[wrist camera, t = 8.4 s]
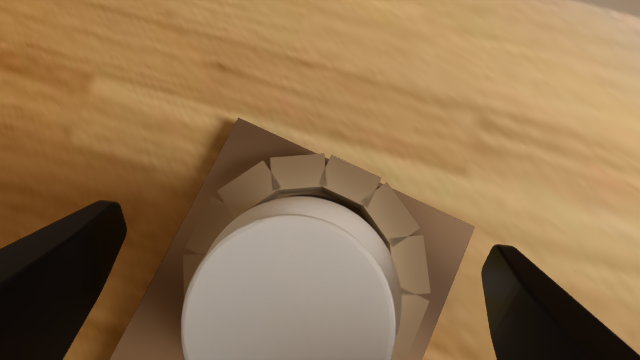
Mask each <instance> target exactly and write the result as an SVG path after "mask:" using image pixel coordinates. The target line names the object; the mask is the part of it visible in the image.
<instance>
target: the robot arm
mask: <svg viewBox="0 0 640 360" xmlns="http://www.w3.org/2000/svg"><path fill="white" fill-rule="evenodd" d="M126 233H127V227H126V223H125V219H124V216H123V213H122V209H121V206H120V204H119V203H118V202H115V201H106V200H100V201H97V202H95V203H93V204H91V205H89V206H87V207H85V208H83V209H81V210H78V211H76V212H74V213H72V214H70V215H68V216H66V217H64V218H62V219H60V220H58V221H56V222H54V223H52V224H50V225H48V226H46V227H44V228H42V229H40V230H38V231H36V232H34V233H32V234H30V235H28V236H25V237H23V238H21V239H19V240H17V241H15V242H13V243H11V244H9V245H7V246H5V247H3V248H1V249H0V360H63V358H64V356H65V355H66V353H67V351H68V349H69V348H70V346H71V344H72V342H73V341H74V339H75V337H76V335H77V334H78V332H79V330H80V328H81V327H82V325H83V323H84V321H85V320H86V318H87V316H88V314H89V313H90V311H91V309H92V307H93V306H94V304H95V302H96V300H97V299H98V297H99V295H100V293H101V291H102V289H103V287H104V285H105V283H106V280H107V278H108V276H109V274H110V271H111V269H112V267H113V264H114V262H115V260H116V257H117V255H118V253H119V251H120V248H121V246H122V244H123V241H124V239H125V237H126ZM481 275H482V283H483V290H484V296H485V303H486V309H487V316H488V322H489V328H490V334H491V338H492V343H493V347H494V350H495V354H496V358H497V360H640V355H639V354H638V353H636V352H635V351H634V350H633V349H632V348H631V347H629V346H628V345H627V344H626V343H625V342H624V341H623V340H621V339H620V338H619V337H618V336H617V335H616V334H614V333H613V332H612V331H611V330H610V329H609V328H608V327H606V326H605V325H604V324H603V323H602V322H601V321H599V320H598V319H597V318H596V317H595V316H594V315H592V314H591V313H590V312H589V311H588V310H587V309H586V308H584V307H583V306H582V305H581V304H580V303H579V302H577V301H576V300H575V299H574V298H573V297H572V296H571V295H569V294H568V293H567V292H566V291H565V290H564V289H562V288H561V287H560V286H559V285H558V284H557V283H556V282H554V281H553V280H552V279H551V278H550V277H549V276H547V275H546V274H545V273H544V272H543V271H542V270H540V269H539V268H538V267H537V266H536V265H535V264H534V263H532V262H531V261H530V260H529V259H528V258H527V257H525V256H524V255H523V254H522V253H521V252H520V251H519V250H517V249H516V248H515V247H513V246H509V245H500V244H497V245H494V246H493V247H492V249H491V251H490V253H489V255H488V257H487V259H486V261H485V263H484V265H483V268H482V273H481Z"/></svg>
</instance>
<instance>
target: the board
mask: <svg viewBox="0 0 640 360" xmlns="http://www.w3.org/2000/svg"><path fill="white" fill-rule="evenodd" d="M380 179H381V177H379V176H377V175H374V174H372V173H370V172H368V171H366V170H364V169H361V168H359V167H357V166H355V165H353V164H350V163H348V162H346V161H344V160H342V159H340V158H337V157H335V156H333V155H331V157H330V159H327V158H325V156H324V154H316V153H314V152H312V151H310V150H308V149H305V148H303V147H301V146H299V145H297V144H294V143H292V142H290V141H288V140H286V139H284V138H281V137H279V136H277V135H275V134H273V133H271V132H268V131H266V130H264V129H262V128H260V127H258V126H255V125H253V124H251V123H249V122H247V121H245V120H242V119H240V118H238V119H237V121H236V123H235V125H234V127H233V129H232V131H231V132H230V134H229V136H228V138H227V140H226V142H225V144H224V146H223V147H222V149H221V151H220V153H219V155H218V157H217V159H216V161H215V163H214V164H213V166H212V168H211V170H210V172H209V174H208V176H207V178H206V179H205V181H204V183H203V185H202V187H201V189H200V191H199V193H198V194H197V196H196V198H195V200H194V202H193V204H192V206H191V208H190V209H189V211H188V213H187V215H186V217H185V219H184V221H183V223H182V225H181V226H180V228H179V230H178V232H177V234H176V236H175V238H174V240H173V241H172V243H171V245H170V247H169V249H168V251H167V253H166V255H165V256H164V258H163V260H162V262H161V264H160V266H159V268H158V270H157V271H156V273H155V275H154V277H153V279H152V281H151V283H150V285H149V286H148V288H147V290H146V292H145V294H144V296H143V298H142V300H141V302H140V303H139V305H138V307H137V309H136V311H135V313H134V315H133V317H132V318H131V320H130V322H129V324H128V326H127V328H126V330H125V332H124V333H123V335H122V337H121V339H120V341H119V343H118V345H117V347H116V348H115V350H114V352H113V354H112V356H111V358H110V360H184V355H183V350H182V342H181V316H182V308H183V303H184V299H185V295H186V292H187V289H188V286H189V283H190V281H191V279H192V277H193V275H194V273H195V271H196V269H197V267H198V266H199V264H200V263H201V261H202V260H203V259H204V257H205V256H206V254H207V252H208V250H209V248H210V247H211V245H212V243H213V242H214V240H215V239H216V238H217V237H218V235H219V234H220V233H221V232H222V231H223V230H224V229H225V228H226V227H227V226H228V225H229V224H230V223H231V222H232V221H233V220H235V219H236V218H237V217H238V216H240V215H241V214H243V213H244V212H246V211H247V210H249V209H251V208H253V207H255V206H257V205H260V204H262V203H266V202H269V201H272V200H275V199H280V198H286V197H295V196H304V197H314V198H320V199H324V200H328V201H331V202H334V203H337V204H339V205H341V206H343V207H346V208H347V209H349V210H351V211H352V212H354V213H355V214H357V215H358V216H360V217H361V218H362V219H363V220H364V221H366V222H367V223H368V224H369V225H370V226H371V227H372V228H373V229H374V230H375V231H376V233H377V234H378V235H379V236H380V238H381V239H382V241H383V242H384V243H385V245H386V247H387V249H388V250H389V252H390V254H391V257H392V259H393V262H394V264H395V266H396V270H397V273H398V277H399V281H400V287H401V295H402V309H401V319H400V326H399V330H398V334H397V337H396V340H395V343H394V347H393V352H392V356H391V359H390V360H422V358H423V356H424V353H425V351H426V348H427V346H428V343H429V341H430V338H431V336H432V333H433V331H434V328H435V326H436V323H437V321H438V318H439V316H440V313H441V311H442V308H443V306H444V303H445V301H446V298H447V296H448V293H449V291H450V288H451V286H452V283H453V281H454V278H455V276H456V273H457V271H458V268H459V266H460V263H461V261H462V258H463V256H464V253H465V250H466V248H467V245H468V243H469V240H470V238H471V235H472V233H473V230H474V228H475V227H474V226H472V225H470V224H468V223H466V222H464V221H461V220H459V219H457V218H455V217H453V216H451V215H448V214H446V213H444V212H442V211H440V210H438V209H435V208H433V207H431V206H429V205H427V204H425V203H422V202H420V201H418V200H416V199H414V198H412V197H409V196H407V195H405V194H403V193H401V192H399V191H396V190H394V189H392V188H391V187H390V186H389V184H388V183H385V184H384V185H383V184H381V183H379V181H380Z"/></svg>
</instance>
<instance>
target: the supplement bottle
mask: <svg viewBox="0 0 640 360" xmlns="http://www.w3.org/2000/svg"><path fill="white" fill-rule="evenodd" d="M401 309H402V295H401V287H400V281H399V277H398V273H397V270H396V266H395V264H394V262H393V259H392V257H391V254H390V252H389V250H388V249H387V247H386V245H385V243H384V242H383V241H382V239H381V238H380V236H379V235H378V234H377V233H376V231H375V230H374V229H373V228H372V227H371V226H370V225H369V224H368V223H367V222H366V221H364V220H363V219H362V218H361V217H360V216H358V215H357V214H355V213H354V212H352V211H351V210H349V209H347V208H346V207H343V206H341V205H339V204H337V203H334V202H331V201H328V200H324V199H320V198H314V197H304V196H295V197H286V198H280V199H275V200H272V201H269V202H266V203H262V204H260V205H257V206H255V207H253V208H251V209H249V210H247V211H246V212H244V213H243V214H241V215H240V216H238V217H237V218H236V219H235V220H233V221H232V222H231V223H230V224H229V225H228V226H227V227H226V228H225V229H224V230H223V231H222V232H221V233H220V234H219V235H218V237H217V238H216V239H215V240H214V242H213V243H212V245H211V247H210V248H209V250H208V252H207V254H206V256H205V257H204V259H203V260H202V261H201V263H200V264H199V266H198V267H197V269H196V271H195V273H194V275H193V277H192V279H191V281H190V283H189V286H188V289H187V292H186V295H185V299H184V303H183V308H182V316H181V342H182V350H183V355H184V360H390V359H391V356H392V352H393V347H394V343H395V340H396V337H397V334H398V330H399V326H400V319H401Z"/></svg>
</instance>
